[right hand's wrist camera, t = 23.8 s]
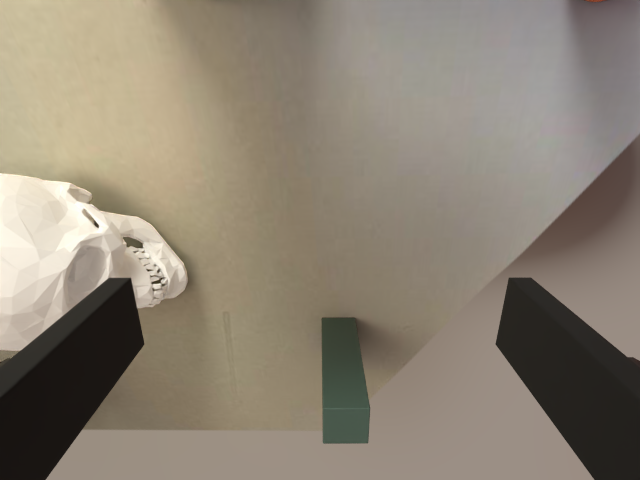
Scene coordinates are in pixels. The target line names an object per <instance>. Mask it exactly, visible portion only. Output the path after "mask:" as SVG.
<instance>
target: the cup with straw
mask: <svg viewBox="0 0 640 480" xmlns="http://www.w3.org/2000/svg"><path fill="white" fill-rule="evenodd" d="M585 1H590V2H600V1H605V0H585Z"/></svg>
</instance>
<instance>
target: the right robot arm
mask: <svg viewBox="0 0 640 480" xmlns="http://www.w3.org/2000/svg"><path fill="white" fill-rule="evenodd" d="M143 345H144V340H143V335H142V330H141V325H140V320H139V315H138V310H137V305H136V300H135V295H134V290H133V285H132V280H131V278H108V279H107V280H106V281H104V282H103V283H102V284H101V285H100V286H98V287H97V288H96V289H95V290H94V291H92V292H91V293H90V294H89V295H87V296H86V297H85V298H84V299H83V300H81V301H80V302H79V303H78V304H77V305H75V306H74V307H73V308H72V309H71V310H69V311H68V312H67V313H66V314H64V315H63V316H62V317H61V318H60V319H58V320H57V321H56V322H55V323H54V324H52V325H51V326H50V327H49V328H47V329H46V330H45V331H44V332H43V333H41V334H40V335H39V336H38V337H37V338H35V339H34V340H33V341H32V342H31V343H29V344H28V345H27V346H26V347H24V348H23V349H22V350H21V351H20V352H18V353H17V354H16V355H15V356H14V357H12V358H11V359H6V360H4V361H2V362H0V480H46V478H47V477H48V476H49V474H50V473H51V471H52V470H53V469H54V467H55V466H56V465H57V463H58V462H59V460H60V459H61V458H62V456H63V455H64V454H65V452H66V451H67V449H68V448H69V447H70V445H71V444H72V443H73V441H74V440H75V439H76V437H77V436H78V434H79V433H80V432H81V430H82V429H83V428H84V426H85V425H86V423H87V422H88V421H89V419H90V418H91V417H92V415H93V414H94V413H95V411H96V410H97V408H98V407H99V406H100V404H101V403H102V402H103V400H104V399H105V397H106V396H107V395H108V393H109V392H110V391H111V389H112V388H113V386H114V385H115V384H116V382H117V381H118V380H119V378H120V377H121V376H122V374H123V373H124V371H125V370H126V369H127V367H128V366H129V365H130V363H131V362H132V360H133V359H134V358H135V356H136V355H137V354H138V352H139V351H140V350H141V348H142V347H143ZM496 345H497V347H498V348H499V349H500V351H501V352H502V354H503V355H504V356H505V358H506V359H507V360H508V362H509V363H510V365H511V366H512V367H513V369H514V370H515V371H516V373H517V374H518V375H519V377H520V378H521V380H522V381H523V382H524V384H525V385H526V386H527V388H528V389H529V391H530V392H531V393H532V395H533V396H534V397H535V399H536V400H537V402H538V403H539V404H540V406H541V407H542V408H543V410H544V411H545V413H546V414H547V415H548V417H549V418H550V419H551V421H552V422H553V423H554V425H555V426H556V428H557V429H558V430H559V432H560V433H561V434H562V436H563V437H564V439H565V440H566V441H567V443H568V444H569V445H570V447H571V448H572V449H573V451H574V452H575V454H576V455H577V456H578V458H579V459H580V460H581V462H582V463H583V464H584V466H585V467H586V469H587V470H588V471H589V473H590V474H591V476H592V477H593V478H594V480H640V361H639V360H637V359H635V358H633V357H626V356H625V355H624V354H623V353H622V352H620V351H619V350H618V349H617V348H616V347H614V346H613V345H612V344H611V343H609V342H608V341H607V340H606V339H605V338H603V337H602V336H601V335H600V334H599V333H597V332H596V331H595V330H594V329H593V328H591V327H590V326H589V325H588V324H586V323H585V322H584V321H583V320H582V319H580V318H579V317H578V316H577V315H575V314H574V313H573V312H572V311H571V310H569V309H568V308H567V307H566V306H565V305H563V304H562V303H561V302H560V301H558V300H557V299H556V298H555V297H554V296H552V295H551V294H550V293H549V292H548V291H546V290H545V289H544V288H543V287H542V286H540V285H539V284H538V283H537V282H536V281H534V280H533V279H532V278H509V280H508V285H507V290H506V295H505V300H504V305H503V310H502V315H501V320H500V325H499V330H498V335H497V340H496Z"/></svg>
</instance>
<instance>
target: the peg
mask: <svg viewBox="0 0 640 480" xmlns="http://www.w3.org/2000/svg"><path fill="white" fill-rule="evenodd" d="M322 406H323V443H368V437H369V418H370V405H369V399H368V393H367V387H366V381H365V375H364V369H363V363H362V357H361V351H360V345H359V339H358V333H357V327H356V321H355V318H322Z"/></svg>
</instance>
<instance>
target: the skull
mask: <svg viewBox="0 0 640 480" xmlns="http://www.w3.org/2000/svg"><path fill="white" fill-rule="evenodd" d="M92 199H93V198H92V194H91V193H90V192H88V191H87V190H85V189H83V188H79V187H77V186H75V185H74V184H72V183H69V182H60V181H47V180H41V179H39V178H34V177H28V176H22V175H13V174H0V350H10V351H21V350H22V349H23V348H24V347H26V346H27V345H28V344H29V343H31V342H32V341H33V340H34V339H35V338H37V337H38V336H39V335H40V334H41V333H43V332H44V331H45V330H46V329H47V328H49V327H50V326H51V325H52V324H54V323H55V322H56V321H57V320H58V319H60V318H61V317H62V316H63V315H64V314H66V313H67V312H68V311H69V310H71V309H72V308H73V307H74V306H75V305H77V304H78V303H79V302H80V301H81V300H83V299H84V298H85V297H86V296H87V295H89V294H90V293H91V292H92V291H94V290H95V289H96V288H97V287H98V286H100V285H101V284H102V283H103V282H104V281H106V280H107V279H108V278H131V280H132V285H133V290H134V295H135V300H136V305H137V308H144V307H153V306H154V305H155V304H160V302H161V300H164V299H165V298H175V297H176V296H178V295H179V294H180V293H182V292H183V291H184V290H185V287H186V285H187V282H188V279H187V271H186V268H185V266H184V263H183V262H182V261H181V260H180V258H179V257H178V256H177V255H176V254H175V253H174V251H173V250H172V249H171V248H170V246H169V245H168V244H167V243H166V242H165V240H164V239H163V238H162V237H161V235H160V234H159V233H158V232H157V231H156V229H155V228H154V227H153V226H152V225H151V224H150V223H148V222H146V221H145V220H143V219H141V218H139V217H136V216H128V215H121V214H115V213H110V212H104V211H100V210H99V209H97V208H96V207H95V206H93V205H92V204H88V203H89V202H90V201H91V200H92ZM91 217H92V218H93V219H94V220H95V221H96V222H97V223H98V224H99V228H97V227H96V226H95V223H94V220H93V219H92V218H91ZM122 237H129V238H133V239H136V240H138V241H139V242H141V243H142V244H143V248H135V247H133V246H130V247H127V246H126V244H127V243H126V242H125V241H124V239H123V238H122ZM143 251H144V252H145V253H141V252H143ZM135 252H136V253H135ZM147 258H149V259H147ZM139 259H140V260H139ZM145 265H146V266H145ZM146 269H151V270H153V271H149V272H148V271H147V270H146ZM157 270H159V271H160V272H159V273H157ZM153 275H156V277H155V276H153ZM150 276H153V277H150ZM159 278H163V279H162V280H161V283H163V284H164V286H161V284H152V282H153V281H156V280H159Z"/></svg>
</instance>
